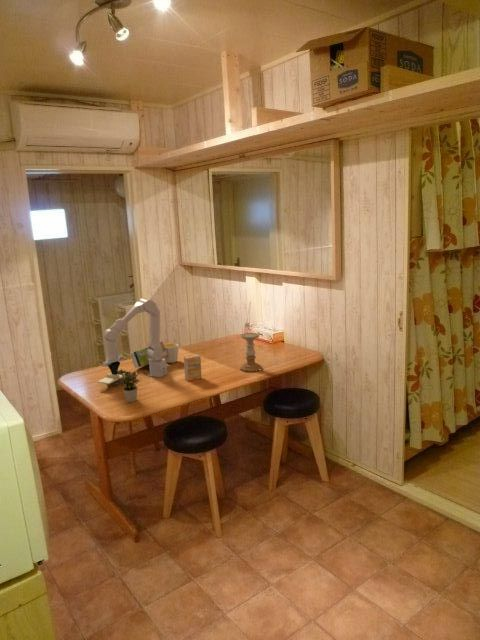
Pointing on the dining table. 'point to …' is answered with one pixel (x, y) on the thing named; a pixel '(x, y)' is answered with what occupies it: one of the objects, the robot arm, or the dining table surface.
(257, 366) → the candle holder
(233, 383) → the dining table surface
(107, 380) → the cover plate
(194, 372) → the supplement box
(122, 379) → the walnut box
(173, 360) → the mug
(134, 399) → the house plant
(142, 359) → the tea box
